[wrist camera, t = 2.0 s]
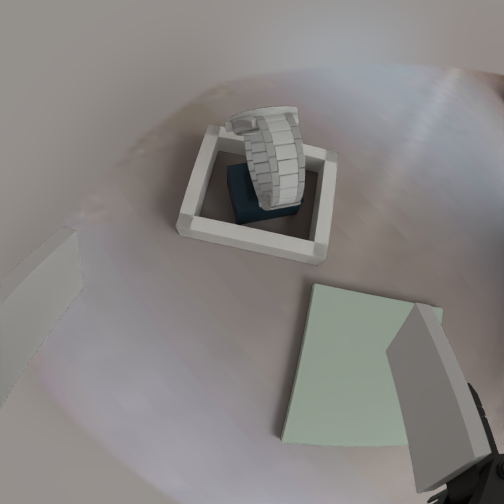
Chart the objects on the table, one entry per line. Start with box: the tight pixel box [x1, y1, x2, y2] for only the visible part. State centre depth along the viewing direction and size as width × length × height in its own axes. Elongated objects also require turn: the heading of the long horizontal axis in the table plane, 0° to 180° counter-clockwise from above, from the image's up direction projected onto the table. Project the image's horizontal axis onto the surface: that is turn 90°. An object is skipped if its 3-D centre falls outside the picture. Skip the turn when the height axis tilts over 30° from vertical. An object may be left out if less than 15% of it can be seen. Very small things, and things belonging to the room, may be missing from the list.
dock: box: [176, 125, 338, 265], centre depth 27 cm, size 12×10×2 cm
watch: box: [225, 106, 305, 225], centre depth 23 cm, size 6×8×11 cm
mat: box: [280, 284, 443, 446], centre depth 25 cm, size 14×14×1 cm
